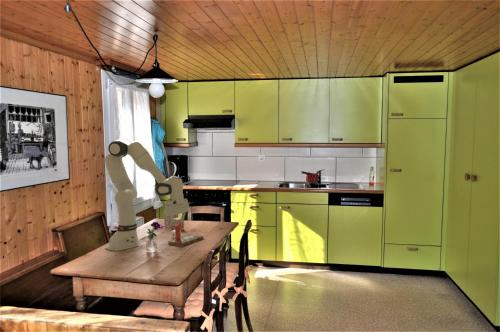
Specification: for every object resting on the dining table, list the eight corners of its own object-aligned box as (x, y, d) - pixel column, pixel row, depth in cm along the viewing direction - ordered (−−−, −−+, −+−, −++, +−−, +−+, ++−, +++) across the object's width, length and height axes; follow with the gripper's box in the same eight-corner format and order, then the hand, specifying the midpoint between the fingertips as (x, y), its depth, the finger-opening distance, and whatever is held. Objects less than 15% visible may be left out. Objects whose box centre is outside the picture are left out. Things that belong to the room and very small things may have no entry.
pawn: (178, 242, 262) (177, 225, 262) (173, 241, 265) (172, 225, 264) (182, 240, 266) (182, 224, 265) (177, 239, 269) (177, 223, 268)
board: (181, 246, 260) (181, 243, 260) (168, 244, 266) (168, 241, 266) (203, 238, 279) (203, 235, 279) (190, 236, 286) (190, 233, 285)
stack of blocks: (184, 230, 306) (183, 214, 305) (177, 231, 302) (176, 215, 301) (171, 225, 322) (170, 210, 321) (164, 226, 318) (163, 212, 317)
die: (176, 238, 281) (176, 231, 280) (171, 237, 283) (170, 230, 283) (181, 237, 285) (181, 230, 285) (176, 236, 288) (175, 229, 287)
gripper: (183, 197, 274) (184, 217, 275) (162, 202, 257) (164, 223, 258) (190, 198, 270) (191, 217, 272) (169, 203, 253) (171, 224, 254)
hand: (178, 220), depth 264 cm, fingers open, 8 cm apart
